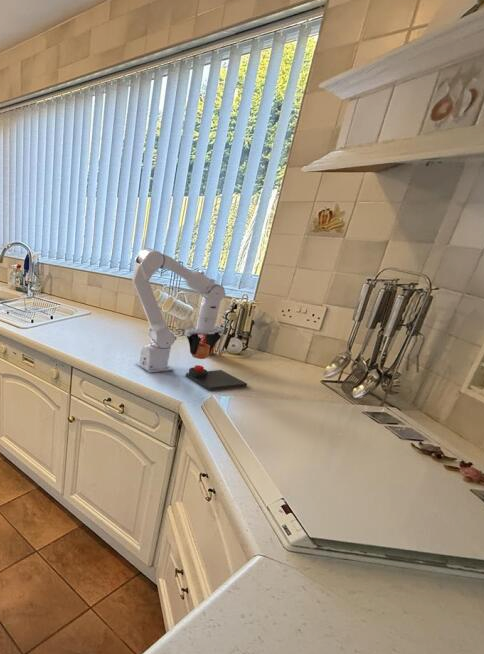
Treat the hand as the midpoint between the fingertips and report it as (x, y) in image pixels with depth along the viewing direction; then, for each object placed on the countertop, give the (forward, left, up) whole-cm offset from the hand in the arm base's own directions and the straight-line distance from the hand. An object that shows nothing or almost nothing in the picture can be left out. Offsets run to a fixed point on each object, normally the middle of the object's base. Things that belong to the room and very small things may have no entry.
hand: (199, 353), depth 145 cm
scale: (-2, -12, -6) cm, 14 cm away
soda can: (+14, +14, -6) cm, 21 cm away
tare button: (-6, -8, -3) cm, 10 cm away
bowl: (0, 0, -1) cm, 1 cm away
